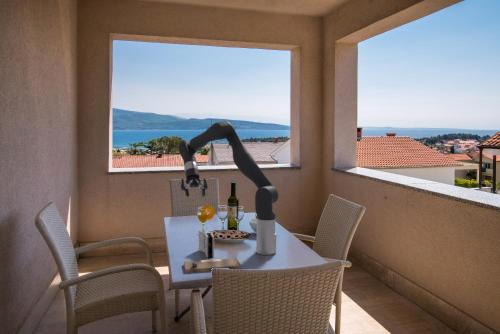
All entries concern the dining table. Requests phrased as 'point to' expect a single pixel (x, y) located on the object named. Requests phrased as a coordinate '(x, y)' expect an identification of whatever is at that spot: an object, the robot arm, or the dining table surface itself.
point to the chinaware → (253, 224)
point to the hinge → (206, 243)
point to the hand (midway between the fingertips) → (195, 196)
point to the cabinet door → (211, 265)
